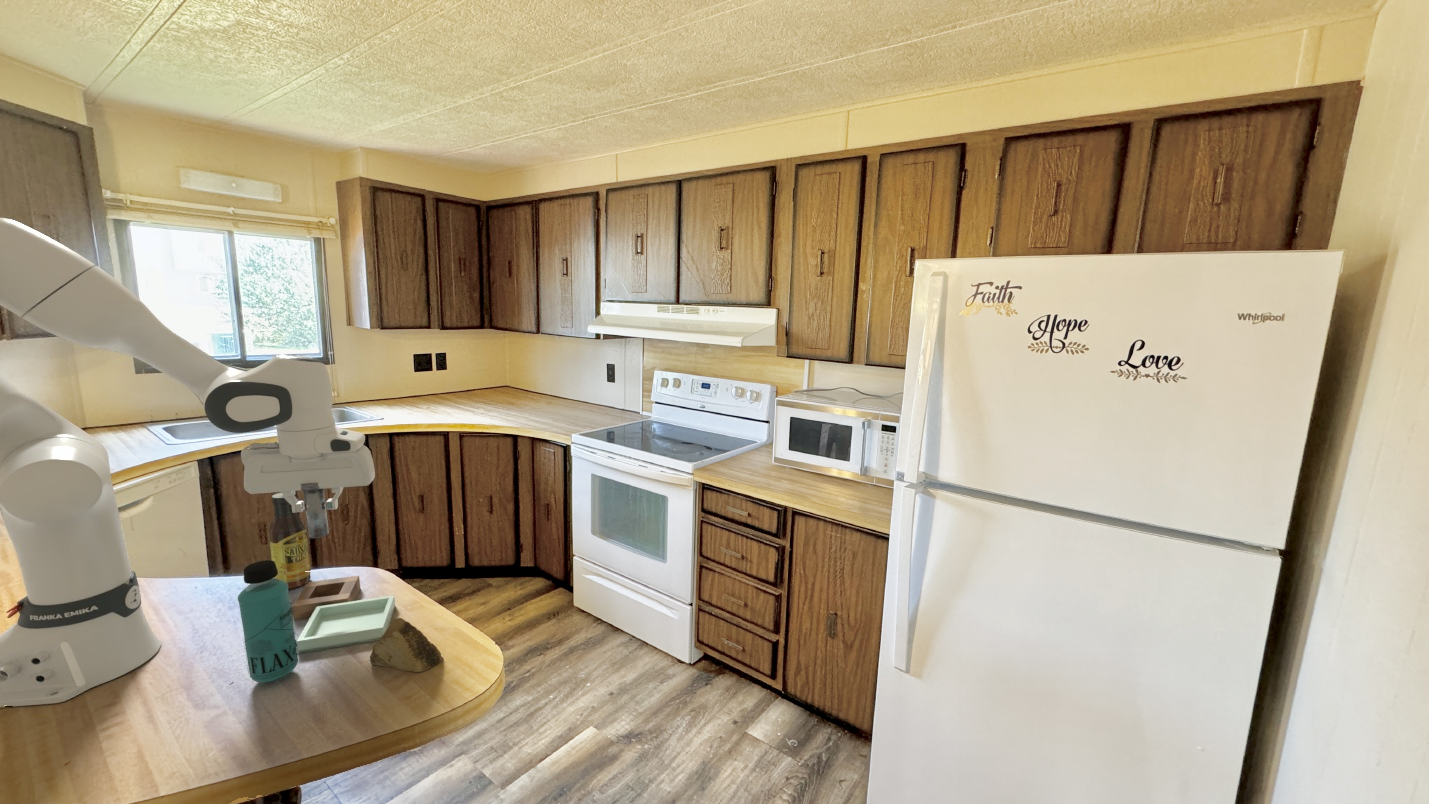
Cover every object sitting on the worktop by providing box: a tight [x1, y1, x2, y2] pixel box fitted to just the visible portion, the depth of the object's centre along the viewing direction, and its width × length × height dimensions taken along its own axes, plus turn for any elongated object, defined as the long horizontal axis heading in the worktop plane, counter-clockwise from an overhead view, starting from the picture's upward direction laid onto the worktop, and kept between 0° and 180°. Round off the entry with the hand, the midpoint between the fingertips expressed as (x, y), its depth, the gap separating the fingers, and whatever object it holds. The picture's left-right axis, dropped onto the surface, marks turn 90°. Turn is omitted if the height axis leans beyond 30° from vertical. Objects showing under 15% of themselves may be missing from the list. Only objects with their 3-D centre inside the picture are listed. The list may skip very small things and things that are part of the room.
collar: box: [291, 575, 361, 621], centre depth 110 cm, size 9×9×3 cm
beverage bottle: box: [237, 559, 300, 683], centre depth 88 cm, size 6×7×20 cm
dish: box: [296, 595, 396, 655], centre depth 102 cm, size 13×11×2 cm
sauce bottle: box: [268, 492, 312, 590], centre depth 115 cm, size 6×6×20 cm
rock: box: [369, 617, 444, 673], centre depth 94 cm, size 11×9×10 cm
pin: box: [300, 483, 330, 539], centre depth 106 cm, size 5×5×11 cm
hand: (315, 509), depth 106 cm, fingers closed on pin, 4 cm apart
